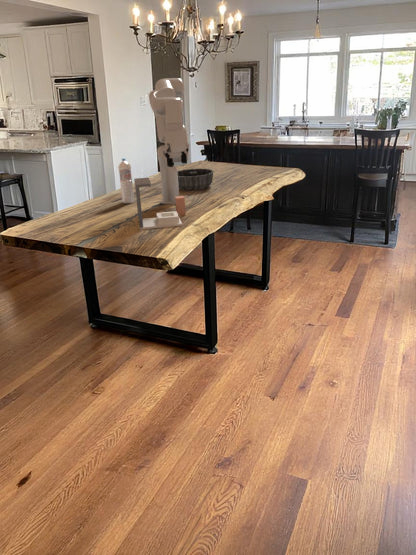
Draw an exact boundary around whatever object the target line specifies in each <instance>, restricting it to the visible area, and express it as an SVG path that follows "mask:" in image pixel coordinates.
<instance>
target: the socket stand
mask: <svg viewBox="0 0 416 555" xmlns="http://www.w3.org/2000/svg"><path fill="white" fill-rule="evenodd" d="M142 220H143V227H142V228H140V225H138V226H139V230H140V231H141V230H151V229H152V230H153V229H161V228H171V227H173V228H174V227H181V226H183V222H182V221H181V219H180V216H178V213H177V211H176V210H174V211H173V210H172V211H163V212H156V217H146V218H142Z"/></svg>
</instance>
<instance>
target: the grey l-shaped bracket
mask: <svg viewBox="0 0 416 555" xmlns="http://www.w3.org/2000/svg"><path fill="white" fill-rule="evenodd" d="M133 182H134V188H135V189H134V190H135V199H136V207H137V210H136V211H137V216H138V217H137V218H138V224H139V225H140V226H139V225H138V226H139V229H140V228H142V227H143V220H142V219H143V211H142V202H141V193H140V192H141V191H140V188H146V187H151V186H152V184H151V181H150V177H138V178H137V177H136V178H133Z"/></svg>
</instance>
